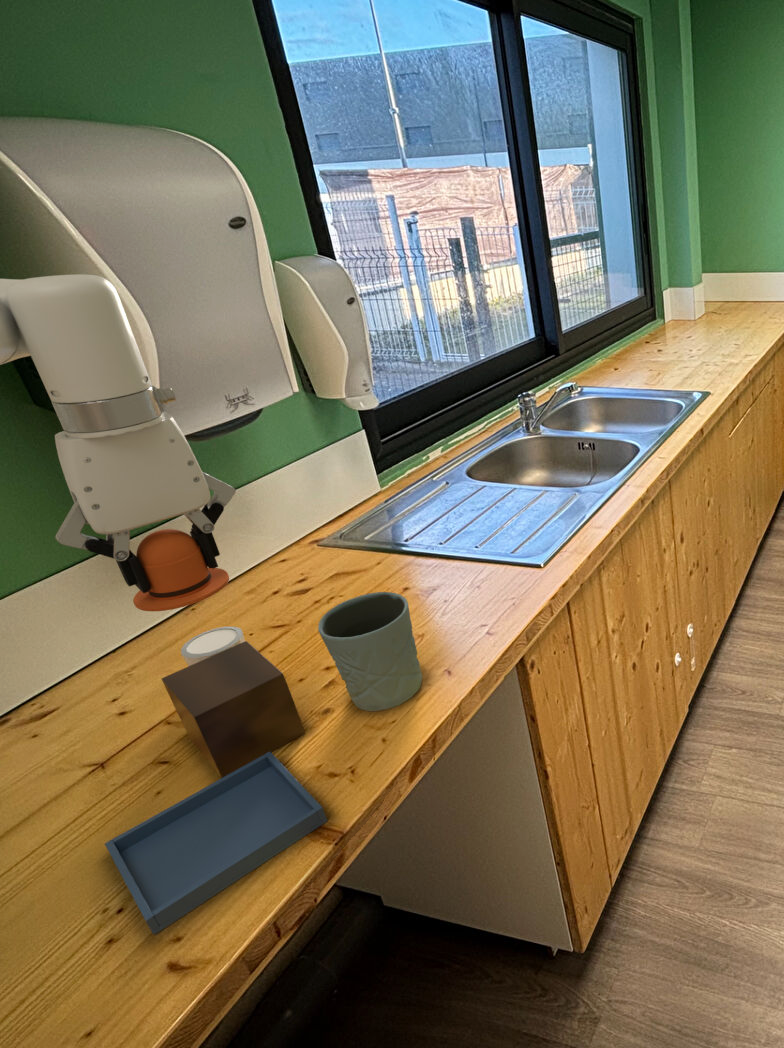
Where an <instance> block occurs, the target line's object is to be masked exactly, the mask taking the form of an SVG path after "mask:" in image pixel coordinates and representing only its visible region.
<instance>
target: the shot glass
mask: <svg viewBox="0 0 784 1048" xmlns="http://www.w3.org/2000/svg"><path fill="white" fill-rule="evenodd" d="M245 641H246V640H245V636H244V633H243V629H242V628H240V627H237V626H221V627H216V628H212V629H209V630H207V631H203V632H200V634H197V635H195V636H193V637H192V638H190V639H189V640H187V642H185V643H184V644H183V645H182V647H181V649H180V653H181V656H182V658H183V660H184V661H185V663H186V664H187V667H188V666H191V665H193V664H195V663H197V662H200V661H202V660H204V659H206V658H209V657H211V656H213V655H215V654H218V653H220V652H222V651H224V650H227V649H229V648H231V647H234V646H236V645H238V644H240V643H243V642H245Z"/></svg>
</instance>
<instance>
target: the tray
mask: <svg viewBox="0 0 784 1048" xmlns="http://www.w3.org/2000/svg"><path fill="white" fill-rule="evenodd" d="M328 821H329V820H328V818H327V815H326V813H325V810H324V808H323V806H322V805H321V804H320V803H319V802H318V801H317V799H315V798H314V796H313V795H311V793H310V792H309V791H308V790H307V789H306V788H305V787H304V786H303V784H301V783H300V782H299V780H298V779H296V777H295V776H294V775H293V774H292V773H291V772H290V771H289V770H288V769H287V767H285V766H284V765H283V763H282V762H281V761H280V760H279V759H278V758H277V756H276V755H274V754H273V752H270V751H269V752H268V753H266V754H265V755H262V756H261V757H259V758H257V759H255V760H253V761H252V762H250V763H248V764H246V765H245V766H243V767H241V768H239V769H237V770H236V771H234V772H232V773H230V774H228V775H227V776H225V777H223V778H221V777H220V778H219V779H218V780H216V781H214V782H212V783H210V784H209V785H207V786H205V787H203V788H201V789H200V790H198V791H196V792H194V793H192V794H191V795H189V796H187V797H185V798H183V799H182V800H180V801H177V802H176V803H175V804H173V805H171V806H169V807H167V808H166V809H164V810H162V811H160V812H158V813H157V814H155V815H153V816H151V817H149V818H148V819H146V820H144V821H142V822H141V823H139V824H137V825H135V826H133V827H131V828H130V829H127V830H126V831H124V832H123V833H120V834H119V835H117V836H115V837H113V838H112V839H110V840H108V841H106V842H105V843H104V846H105V847H106V850H107V851H108V853H109V855H110V857H111V859H112V861H113V862H114V864H115V867H116V868H117V871H118V872H119V874H120V876H121V878H122V879H123V881H124V883H125V885H126V888H127V889H128V891H129V892H130V894H131V896H132V898H133V901H134V902H135V904H136V906H137V908H138V910H139V912H140V913H141V915H142V918H143V919H144V921H145V922H146V924H147V926H148V927H149V929H150V931H151V933H152V935H153V936H155V935H157V934H158V933H160V932H162V931H163V930H165V929H166V928H168V927H169V926H170V925H172V924H173V923H175V922H177V921H178V920H180V919H181V918H182V917H184V916H186V915H187V914H189V913H191V912H192V911H194V910H195V909H196V908H198V907H199V906H201V905H203V904H204V903H205V902H207V901H208V900H210V899H212V898H213V897H215V896H216V895H217V894H220V893H221V892H222V891H224V890H225V889H227V888H229V887H230V886H231V885H233V884H235V883H236V882H237V881H239V880H240V879H242V878H244V877H245V876H246V875H248V874H250V873H251V872H253V871H254V870H256V869H258V868H259V867H260V866H262V865H263V864H265V863H267V862H268V861H269V860H271V859H273V858H274V857H276V856H278V854H280V853H282V852H284V851H285V850H286V849H287V848H289V847H291V846H292V845H294V844H295V843H297V842H299V841H300V840H301V839H303V838H305V837H306V836H308V835H309V834H311V833H312V832H313V831H315V830H317V829H319V827H321V826H323V825H324V824H326V823H327V822H328Z"/></svg>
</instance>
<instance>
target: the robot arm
mask: <svg viewBox="0 0 784 1048" xmlns="http://www.w3.org/2000/svg"><path fill="white" fill-rule="evenodd" d="M26 357H31V360H32V362H33V364H34V366H35V368H36V370H37V372H38V374H39V377H40V379H41V382H42V383H43V386H44V388H45V390H46V393H47V394H48V397H49V399H50V401H51V404H52V407H53V409H54V411H55V413H56V416H57V419H58V420H59V422H60V425H61V427H62V431H59V432H57V433H55V434H54V441H55V447H56V452H57V457H58V460H59V463H60V467H61V470H62V473H63V476H64V479H65V482H66V485H67V487H68V490H69V493H70V495H71V498H72V500H73V504H72V505H71V508H70V510H69V511H68V513H67V515H66V516H65V518H64V521H63V522H62V523H61V525H60V526H59V529H58V530H57V532H56V534H55V540H56V541H57V542H58V543H59V544H60V545H63V546H67V547H71V548H75V549H79V550H85V551H89V553H90V552H91V553H94V554H97V555H100V556H102V557H103V556H104V557H107V558H110V559H113V560H115V561H116V564H117V567H118V568H119V571H120V573H121V576H122V577H123V578H122V579H123V580H124V582H125V583H126V585H127V586H128V587H132V586H135V587H136V588H137V589H138V590H139V591H140V590H141V591H142V592H143V593H146V592H149V590H150V589H151V587H150V585H149V582H148V580H147V578H146V575H145V573H144V571H143V568H142V566H141V564H140V561H139V559H138V557H137V556H136V554H135V553H134V552H133V551H132V550H131V549H130V540H131V530H134V529H138V528H141V527H144V526H149V525H151V524H154V523H159V522H161V521H164V520H168V519H171V518H175V517H178V516H181V515H184V516H185V518H187V520H188V521H189V522H190V523H191V524H192V525H191V528H190V531H189V535H190V536H191V537H192V538H193V539H194V540H195V541H196V542H197V544H198V545H199V546H200V549H201V551H202V554H203V556H204V559H205V562H206V564H207V567H208V568H212V569H213V568H219V564H218V561H217V559H216V557H220V556H221V553H220V550H219V547H218V545H217V542H216V539H215V536H214V534H213V532H214V531H215V525H216V523H217V522H218V520H219V519H220V517H221V515H222V514H223V512H224V510H225V507H226V506H227V505H228V504H229V503H230V502H231V500H232V499H233V498H234V496H235V494H236V493H237V490H236V488H235V487H233V486H231V485H230V484H228V483H226V482H224V481H222V480H220V479H218V478H216V477H213V476H212V475H210V474H207V473H206V472H203V470H202V469H201V467H200V463H199V462H198V460H197V458H196V456H195V454H194V451H193V449H192V447H191V446H190V443H189V442H188V440H187V438H186V436H185V434H184V433H183V431H182V430H181V428H180V426H179V424H178V423H177V422H176V420H175V419H174V417H173V415H171V414H170V413H169V412H166V411H165V410H164V408H165V405H167V404H168V403H171V402H176V400H177V397H176V395H175V392H174V391H173V389H172V388H171V387H167V388H162V387H161V388H157V387H155V385H153V384H152V381H151V379H150V375H149V373H148V371H147V368H146V365H145V362H144V360H143V357H142V354H141V351H140V349H139V346H138V343H137V340H136V337H135V335H134V332H133V330H132V327H131V325H130V321H129V319H128V317H127V314H126V311H125V308H124V306H123V303H122V300H121V298H120V296H119V294H118V291H117V289H116V287H115V286H114V285H113V284H112V282H111V281H109V280H108V279H107V278H105V277H102V276H101V275H96V274H85V273H84V274H83V273H80V274H76V273H75V274H58V275H57V274H56V275H45V276H37V277H36V276H35V277H29V278H24V279H17V278H16V279H14V278H13V279H12V278H0V366H1V365H4V364H7V363H10V362H13V361H15V360H18V359H21V358H26ZM210 490H211V491H212V492H213V494H212V496H211V491H210ZM201 508H202V509H201ZM85 525H90V527H91V529H92V530H93V532H95V533H96V534H99V535H105V537H106V538H105V539H104V538H101V537H98V536H95V535H88V534H84V533H82V531H83V529H84V527H85Z"/></svg>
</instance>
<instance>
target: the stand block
mask: <svg viewBox="0 0 784 1048" xmlns="http://www.w3.org/2000/svg"><path fill="white" fill-rule="evenodd" d="M161 681H162V684H163V686H164V688H165V689H166V692H167V695H168V696H169V698H170V701H171V702H172V705H173V707H174V709H175V711H176V713H177V715H178V717H179V719H180V721H181V724H182V725H183V729H184V730H185V732H186V735H187V736H188V738H189V740H190V741H191V742H192V743H193V744H194V746H195V747H196V748H197V750H198V751H199V752H200V753H201V754H202V755H203V757H204V758H205V760H206V761H207V763H208V764H210V766H211V767H212V768H213V769H214V770H215V772H216V773H217V774H218V776H219V777H220V779H221V778H223V777H225V776H227V775H228V774H230V773H232V772H234V771H236V770H237V769H239V768H241V767H243V766H245V765H246V764H248V763H250V762H252V761H253V760H255V759H257V758H259V757H261V756H262V755H265V754H266V753H268V752H269V751H270V752H271V753H273V752H275V751H276V750H278V749H280V748H281V747H283V746H286V745H287V744H289V743H290V742H293V741H294V740H297V739H298V738H299V737H302V736H304V735H305V734H306V730H305V728H304V725H303V722H302V720H301V717H300V714H299V711H298V709H297V706H296V704H295V703H296V702H295V700H294V698H293V696H292V693H291V690H290V688H289V685H288V683H287V680H286V677H285V675H284V673H283V672H282V671H281V670H280V669H279V668H277V667H276V666H275V665H274V664H273V663H272V662H271V661H269V659H267V658H266V657H265V656H264V655H263V654H262V653H261V652H259V651H258V650H257V649H256V648H255V647H254V646H253V645H252V644H251V643H250V642H248V641H247V640H245V642H243V643H240V644H238V645H236V646H234V647H231V648H229V649H227V650H224V651H222V652H220V653H218V654H215V655H213V656H211V657H209V658H206V659H204V660H202V661H200V662H197V663H195V664H193V665H191V666H188V665H187V666H186V667H184V668H182V669H179V670H178V671H177V670H176V671H175V672H173V673H171V674H168V675H166V676H163V677H161Z"/></svg>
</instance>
